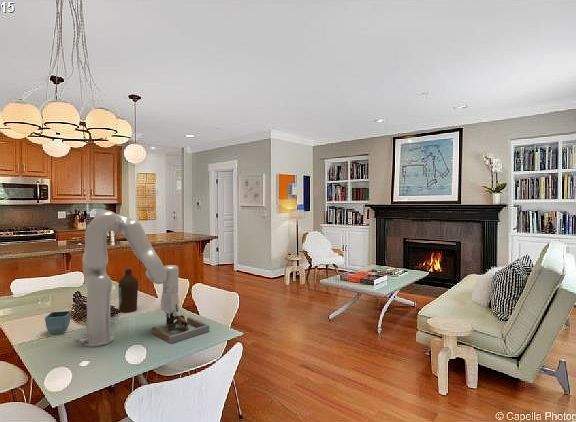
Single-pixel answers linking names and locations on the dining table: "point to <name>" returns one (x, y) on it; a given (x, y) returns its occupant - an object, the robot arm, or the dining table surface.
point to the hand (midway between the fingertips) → (170, 324)
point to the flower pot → (58, 322)
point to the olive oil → (128, 292)
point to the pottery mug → (177, 322)
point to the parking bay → (171, 339)
